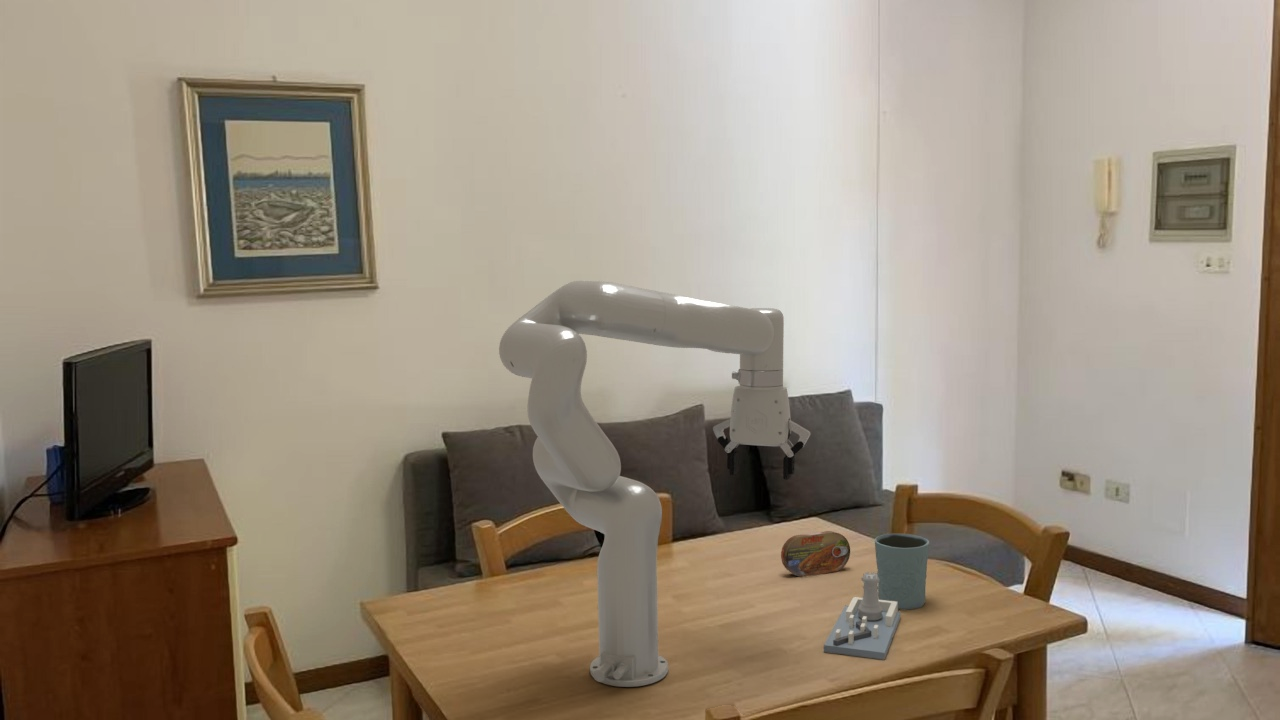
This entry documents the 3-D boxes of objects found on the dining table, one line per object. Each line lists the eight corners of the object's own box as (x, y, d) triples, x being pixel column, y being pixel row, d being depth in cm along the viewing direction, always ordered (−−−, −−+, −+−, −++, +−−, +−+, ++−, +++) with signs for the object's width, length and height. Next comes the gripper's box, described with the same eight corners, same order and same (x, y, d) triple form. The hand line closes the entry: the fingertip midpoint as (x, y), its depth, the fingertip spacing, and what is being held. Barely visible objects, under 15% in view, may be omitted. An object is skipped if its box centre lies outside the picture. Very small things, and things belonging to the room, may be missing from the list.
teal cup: (890, 613, 190) (891, 550, 189) (864, 595, 200) (864, 535, 199) (939, 607, 193) (940, 544, 192) (911, 589, 203) (911, 530, 201)
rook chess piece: (864, 611, 188) (864, 568, 187) (887, 616, 185) (887, 573, 184) (853, 618, 185) (853, 575, 184) (876, 623, 182) (877, 579, 181)
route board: (884, 659, 169) (884, 642, 169) (823, 652, 173) (823, 634, 172) (900, 617, 188) (900, 601, 187) (845, 611, 191) (845, 596, 191)
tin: (785, 579, 211) (785, 538, 210) (779, 574, 214) (778, 534, 213) (851, 570, 215) (851, 531, 214) (843, 566, 218) (843, 527, 217)
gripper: (707, 379, 179) (706, 476, 180) (805, 384, 172) (804, 484, 174) (720, 374, 186) (719, 468, 187) (815, 379, 179) (813, 475, 181)
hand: (760, 476), depth 181 cm, fingers open, 9 cm apart
